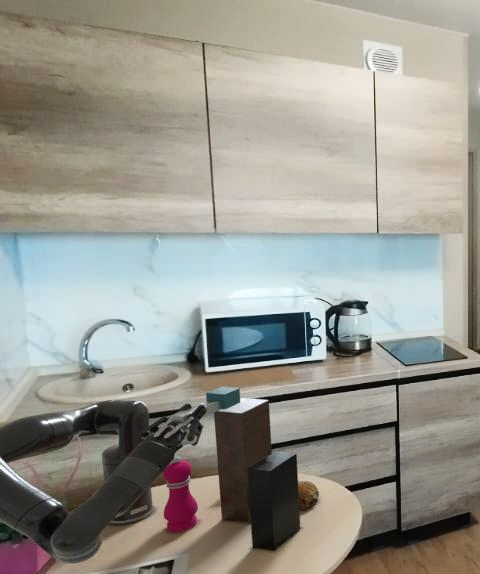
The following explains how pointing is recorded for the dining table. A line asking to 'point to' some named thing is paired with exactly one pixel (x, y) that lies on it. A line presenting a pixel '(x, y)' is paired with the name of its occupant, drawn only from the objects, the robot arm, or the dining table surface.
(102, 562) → the dining table surface
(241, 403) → the plinth
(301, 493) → the bread roll
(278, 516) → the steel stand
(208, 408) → the handle bar
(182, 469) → the pepper mill
